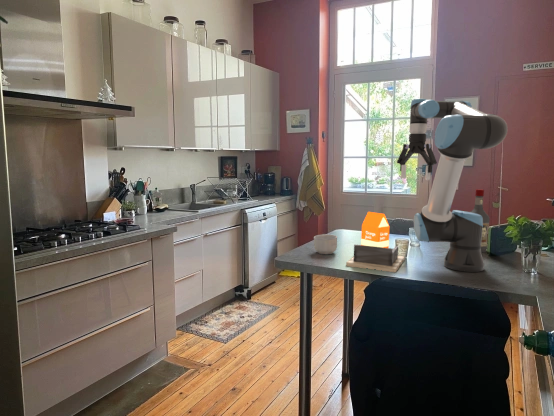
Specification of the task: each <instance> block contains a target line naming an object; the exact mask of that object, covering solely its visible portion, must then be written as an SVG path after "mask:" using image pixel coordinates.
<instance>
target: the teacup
mask: <svg viewBox="0 0 554 416" xmlns="http://www.w3.org/2000/svg"><path fill="white" fill-rule="evenodd" d="M313 244H314V245H313V246H314V250H315V252H317V253H318V254H320V255H332V254H334V252H335V251H336V250H337V247H338V236H337V235H335V234H326V233H322V234H317V235H315V236H313Z"/></svg>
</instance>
